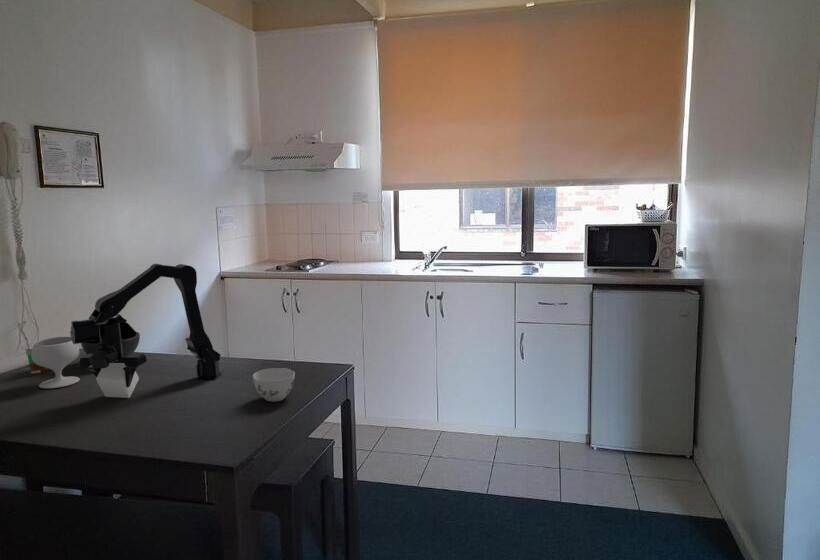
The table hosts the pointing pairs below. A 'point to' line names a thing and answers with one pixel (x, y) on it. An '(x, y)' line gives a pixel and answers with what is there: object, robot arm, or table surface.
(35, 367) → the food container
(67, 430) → the table surface
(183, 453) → the table surface
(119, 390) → the white foam cube
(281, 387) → the teacup
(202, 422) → the table surface
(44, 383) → the chalice
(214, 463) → the table surface
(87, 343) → the bowl of black rocks
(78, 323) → the robot arm
